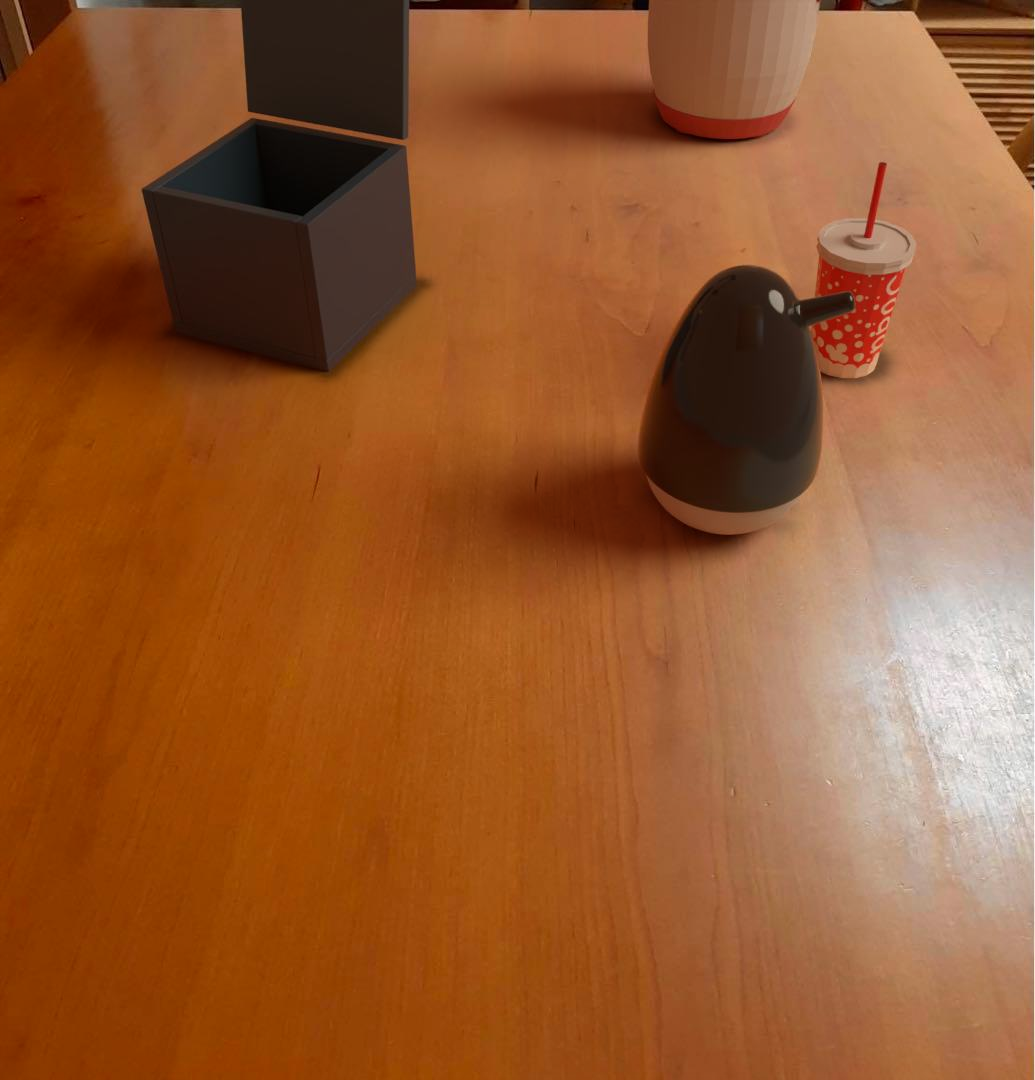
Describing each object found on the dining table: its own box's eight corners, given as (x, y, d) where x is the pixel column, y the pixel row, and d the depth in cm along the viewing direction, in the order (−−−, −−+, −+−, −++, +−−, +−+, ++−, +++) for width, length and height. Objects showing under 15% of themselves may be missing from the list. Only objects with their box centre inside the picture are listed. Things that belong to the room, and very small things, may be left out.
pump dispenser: (813, 571, 64) (865, 333, 54) (625, 551, 66) (641, 315, 55) (811, 459, 72) (856, 231, 61) (642, 442, 73) (659, 218, 63)
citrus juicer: (826, 158, 104) (869, -89, 91) (632, 147, 106) (646, -96, 93) (820, 92, 115) (858, -136, 102) (645, 83, 118) (659, -141, 104)
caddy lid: (404, -83, 73) (410, -84, 73) (233, -102, 77) (240, -103, 77) (403, 140, 80) (408, 137, 81) (247, 112, 84) (253, 109, 85)
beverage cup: (840, 395, 77) (883, 195, 67) (778, 352, 81) (810, 157, 71) (907, 367, 79) (957, 169, 70) (843, 326, 83) (882, 135, 74)
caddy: (328, 372, 79) (307, 224, 72) (175, 332, 83) (140, 188, 76) (417, 285, 88) (406, 145, 81) (274, 253, 92) (251, 117, 85)
